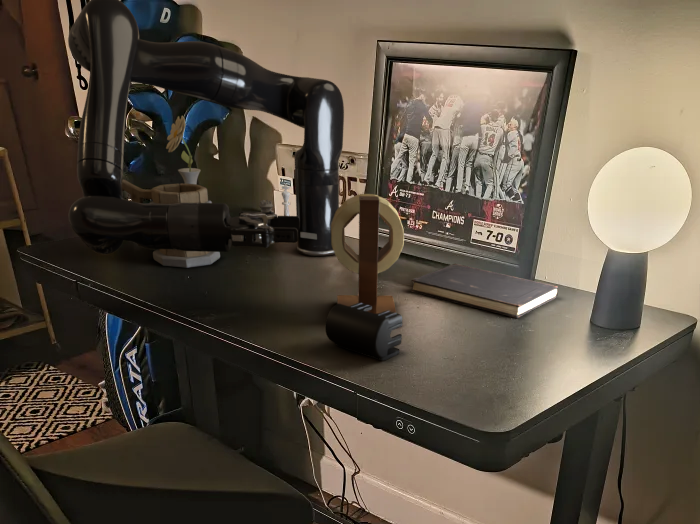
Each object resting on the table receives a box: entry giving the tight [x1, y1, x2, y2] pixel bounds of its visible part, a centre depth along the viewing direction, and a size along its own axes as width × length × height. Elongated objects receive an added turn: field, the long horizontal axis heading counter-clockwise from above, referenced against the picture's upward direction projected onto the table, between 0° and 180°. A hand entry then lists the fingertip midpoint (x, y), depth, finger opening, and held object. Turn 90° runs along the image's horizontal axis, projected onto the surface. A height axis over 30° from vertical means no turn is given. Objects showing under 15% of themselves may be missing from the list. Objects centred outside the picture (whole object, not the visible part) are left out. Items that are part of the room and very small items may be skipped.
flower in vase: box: [165, 115, 201, 185], centre depth 168 cm, size 13×11×25 cm
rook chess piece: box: [258, 199, 274, 224], centre depth 172 cm, size 4×4×8 cm
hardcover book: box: [410, 263, 559, 319], centre depth 142 cm, size 16×23×2 cm
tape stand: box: [336, 195, 397, 314], centre depth 126 cm, size 14×10×20 cm
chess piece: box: [281, 183, 291, 216], centre depth 180 cm, size 5×5×10 cm
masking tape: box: [331, 193, 405, 275], centre depth 125 cm, size 5×12×12 cm, turn 93°
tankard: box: [122, 178, 221, 269], centre depth 153 cm, size 20×13×15 cm, turn 80°
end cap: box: [324, 303, 403, 361], centre depth 114 cm, size 10×7×7 cm
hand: (298, 229), depth 124 cm, fingers open, 8 cm apart
